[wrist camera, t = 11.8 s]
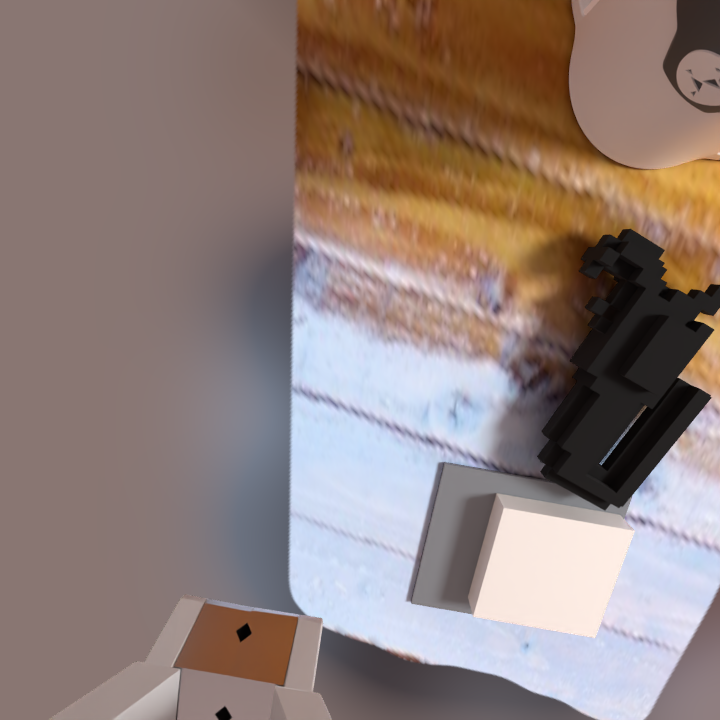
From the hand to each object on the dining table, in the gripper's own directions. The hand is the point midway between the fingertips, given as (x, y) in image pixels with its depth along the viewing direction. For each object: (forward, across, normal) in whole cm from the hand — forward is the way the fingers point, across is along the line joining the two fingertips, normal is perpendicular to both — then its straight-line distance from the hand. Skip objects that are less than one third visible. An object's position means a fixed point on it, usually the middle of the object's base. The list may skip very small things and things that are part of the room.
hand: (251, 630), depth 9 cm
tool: (+31, -22, -2) cm, 39 cm away
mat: (+31, -20, +18) cm, 41 cm away
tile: (+29, -16, +18) cm, 38 cm away
